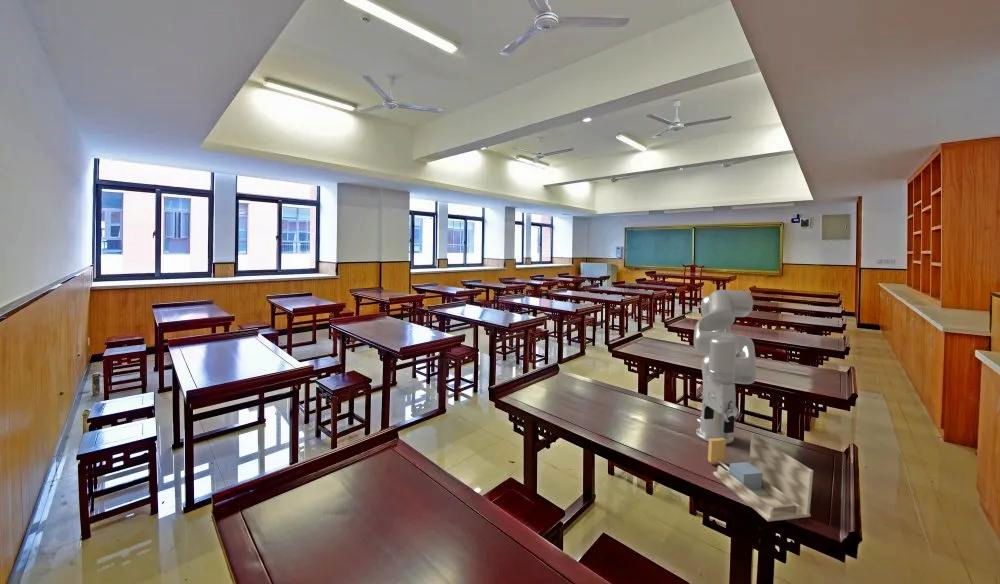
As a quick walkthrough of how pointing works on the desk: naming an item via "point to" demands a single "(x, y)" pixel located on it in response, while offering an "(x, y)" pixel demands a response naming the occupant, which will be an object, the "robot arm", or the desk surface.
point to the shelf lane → (774, 483)
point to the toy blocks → (735, 465)
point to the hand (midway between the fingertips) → (718, 425)
